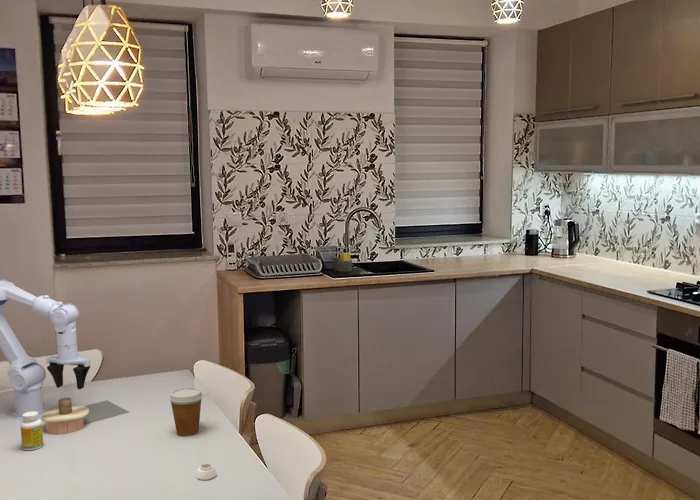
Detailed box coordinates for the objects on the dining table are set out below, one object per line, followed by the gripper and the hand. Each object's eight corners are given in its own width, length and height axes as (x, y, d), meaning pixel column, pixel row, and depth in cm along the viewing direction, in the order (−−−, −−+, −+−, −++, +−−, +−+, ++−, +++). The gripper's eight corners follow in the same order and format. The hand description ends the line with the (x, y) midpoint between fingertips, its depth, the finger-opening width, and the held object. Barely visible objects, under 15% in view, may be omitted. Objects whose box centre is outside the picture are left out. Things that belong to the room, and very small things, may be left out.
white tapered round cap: (196, 482, 176) (216, 479, 177) (195, 470, 175) (216, 468, 176) (196, 473, 181) (216, 471, 182) (195, 462, 180) (215, 460, 181)
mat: (64, 412, 226) (64, 411, 226) (107, 401, 236) (107, 400, 236) (86, 425, 215) (86, 423, 215) (129, 413, 224) (129, 411, 224)
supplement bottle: (35, 451, 196) (32, 417, 195) (18, 450, 197) (15, 416, 196) (47, 444, 201) (44, 410, 200) (30, 442, 202) (27, 409, 201)
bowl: (41, 429, 212) (40, 416, 212) (75, 419, 219) (74, 407, 219) (55, 438, 205) (54, 424, 205) (89, 428, 212) (88, 415, 212)
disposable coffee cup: (211, 431, 208) (209, 391, 207) (183, 441, 201) (181, 400, 200) (192, 423, 215) (190, 385, 213) (164, 432, 208) (162, 393, 206)
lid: (35, 415, 213) (34, 399, 212) (78, 404, 221) (77, 389, 221) (51, 426, 203) (50, 410, 203) (96, 415, 212) (95, 399, 211)
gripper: (95, 342, 219) (98, 385, 221) (55, 339, 224) (58, 381, 225) (81, 348, 213) (84, 392, 215) (40, 345, 217) (43, 388, 219)
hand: (70, 387), depth 219 cm, fingers open, 7 cm apart
